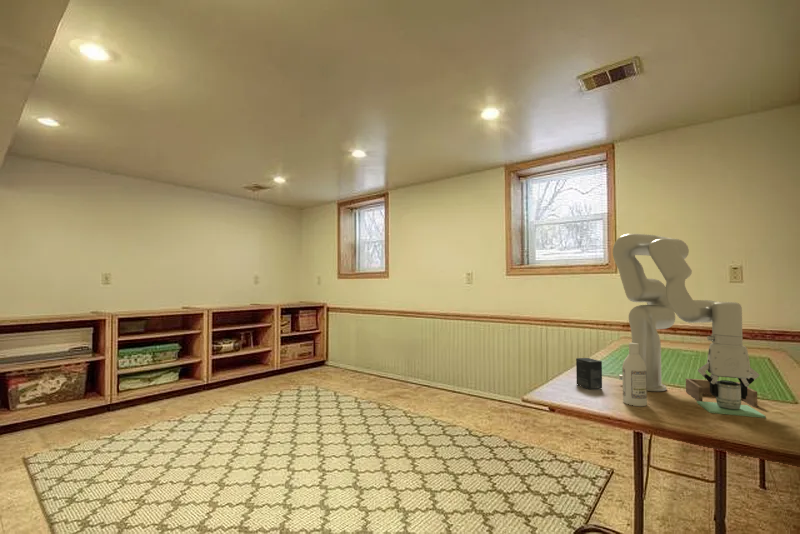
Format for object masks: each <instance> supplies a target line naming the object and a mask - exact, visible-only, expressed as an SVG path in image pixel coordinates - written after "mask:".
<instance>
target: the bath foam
mask: <svg viewBox="0 0 800 534" xmlns="http://www.w3.org/2000/svg"><path fill="white" fill-rule="evenodd" d="M621 369H622V373H621V375H623V380H622V402H623V403H624V404H626V405H628V404H629V406H632V405H633V406H634V407H646V406H647V405H648V391H647V371H646V365H645V363H644V361H643V359H642V358H641V357H640V355H639V344H638V343H632V342H629V343H628V354H627V356H626V357H625V359H624V360H623V362H622V368H621ZM633 406H632V407H633Z"/></svg>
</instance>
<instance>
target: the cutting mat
mask: <svg viewBox="0 0 800 534" xmlns="http://www.w3.org/2000/svg"><path fill="white" fill-rule="evenodd" d="M696 403H697V404H698V405H699V406H701V408H703V409H704V410H705V411H707V412H709V413H711V414H719V415H731V416H741V417H750V418H751V417H752V418H762V419H766V418H767V417H766V415H765V414H763V413H761V412H760V411H759V410H757V409H755V408H753V407H751V405H747V404H741V406H740V409H728V408H723V407H720V406H718V405H717V402H714V401H704V400H703V401H697V400H696Z"/></svg>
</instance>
